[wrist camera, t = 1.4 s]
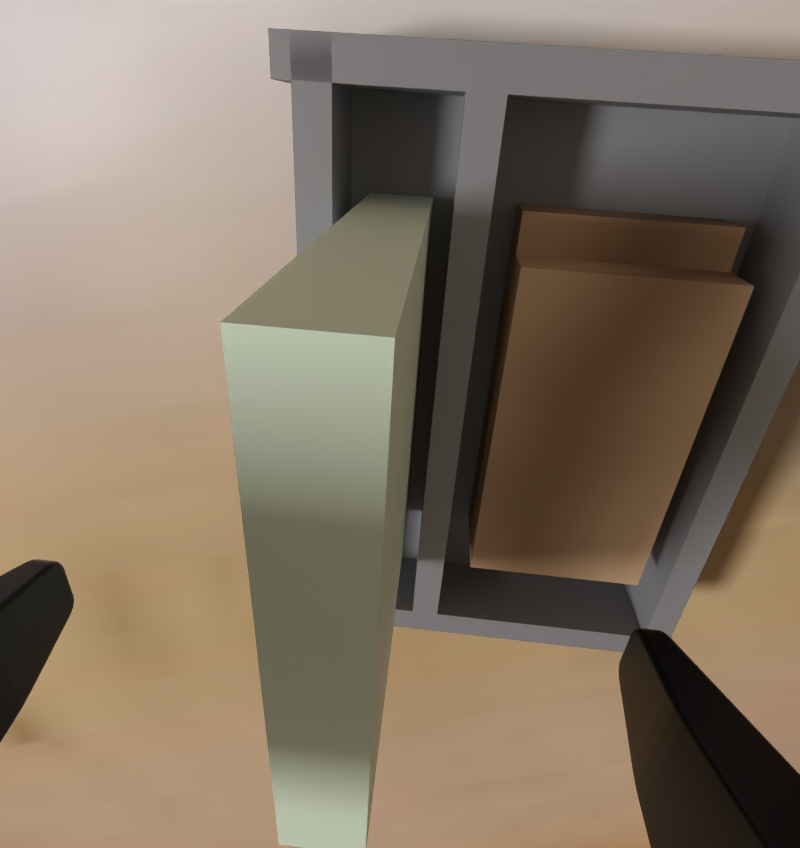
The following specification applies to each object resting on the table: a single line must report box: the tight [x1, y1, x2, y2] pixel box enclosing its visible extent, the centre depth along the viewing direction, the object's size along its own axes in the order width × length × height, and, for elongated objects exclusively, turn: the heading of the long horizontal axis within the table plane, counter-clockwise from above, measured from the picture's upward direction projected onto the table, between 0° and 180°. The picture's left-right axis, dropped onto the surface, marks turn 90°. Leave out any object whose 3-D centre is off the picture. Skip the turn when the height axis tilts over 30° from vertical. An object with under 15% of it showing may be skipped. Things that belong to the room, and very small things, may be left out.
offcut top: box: [469, 255, 754, 585], centre depth 14 cm, size 5×9×1 cm, turn 177°
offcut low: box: [469, 204, 746, 539], centre depth 15 cm, size 5×10×1 cm, turn 177°
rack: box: [268, 28, 800, 652], centre depth 15 cm, size 12×16×3 cm
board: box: [220, 193, 434, 848], centre depth 12 cm, size 2×10×10 cm, turn 177°
